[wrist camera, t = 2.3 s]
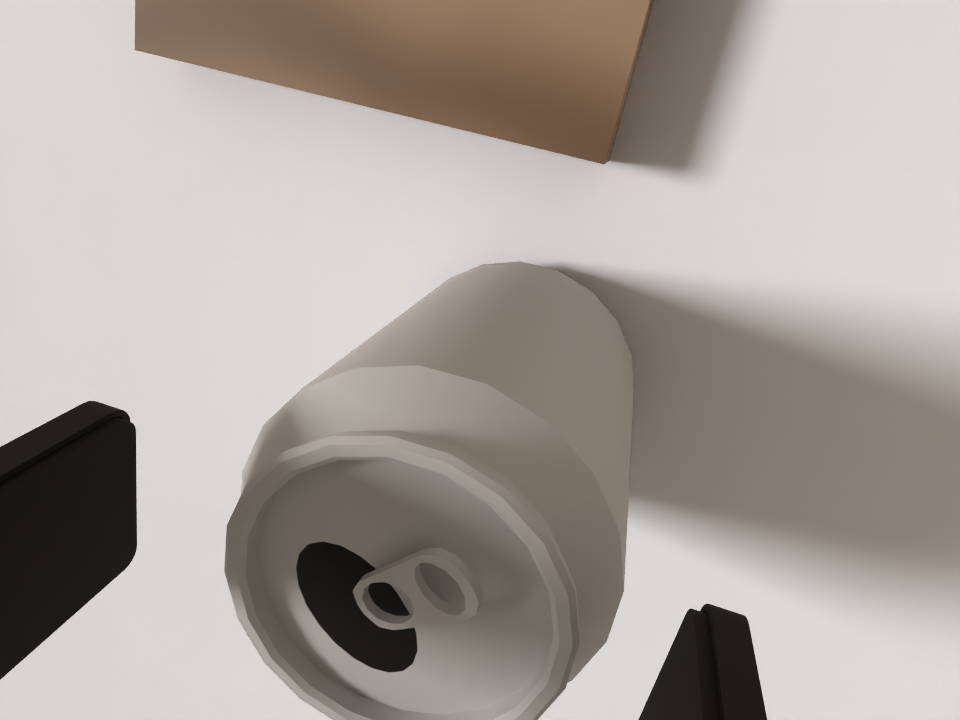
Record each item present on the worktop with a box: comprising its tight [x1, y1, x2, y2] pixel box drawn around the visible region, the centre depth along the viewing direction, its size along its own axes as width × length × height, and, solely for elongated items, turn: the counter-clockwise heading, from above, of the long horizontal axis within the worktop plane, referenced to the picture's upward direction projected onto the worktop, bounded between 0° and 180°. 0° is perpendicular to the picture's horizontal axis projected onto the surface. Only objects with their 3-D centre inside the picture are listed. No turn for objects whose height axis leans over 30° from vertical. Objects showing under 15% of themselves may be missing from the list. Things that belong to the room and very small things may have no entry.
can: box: [225, 262, 634, 720], centre depth 16 cm, size 8×8×12 cm
